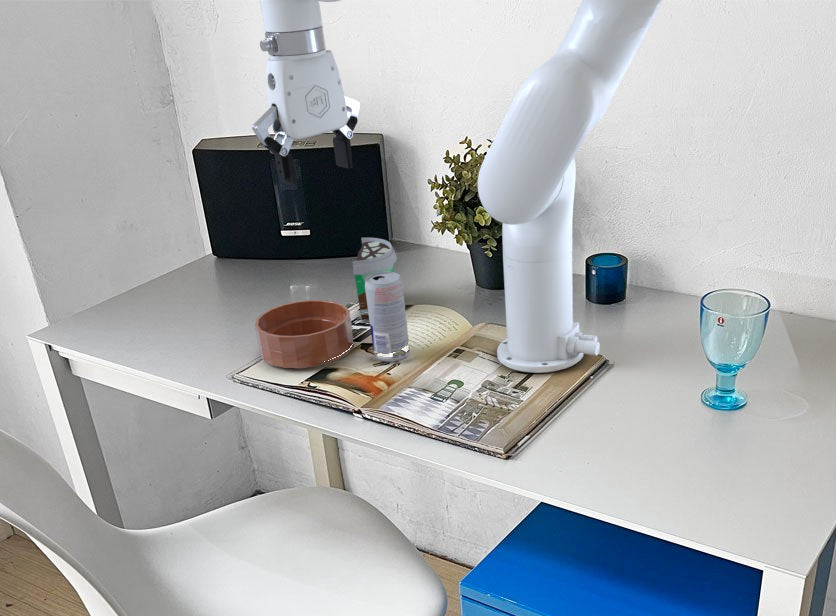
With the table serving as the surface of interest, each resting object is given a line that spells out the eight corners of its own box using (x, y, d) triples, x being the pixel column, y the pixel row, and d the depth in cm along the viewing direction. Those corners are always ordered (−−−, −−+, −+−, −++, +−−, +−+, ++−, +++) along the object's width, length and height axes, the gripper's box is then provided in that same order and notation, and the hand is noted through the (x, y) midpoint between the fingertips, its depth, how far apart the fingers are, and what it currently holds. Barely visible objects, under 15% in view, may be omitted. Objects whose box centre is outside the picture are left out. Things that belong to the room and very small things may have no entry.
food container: (398, 320, 157) (391, 260, 152) (360, 322, 157) (351, 262, 152) (405, 292, 167) (398, 234, 162) (369, 294, 168) (361, 236, 162)
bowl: (365, 333, 154) (361, 300, 151) (338, 373, 142) (332, 338, 139) (281, 332, 156) (275, 299, 153) (247, 370, 145) (240, 335, 142)
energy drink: (396, 344, 149) (387, 268, 143) (417, 354, 146) (409, 277, 139) (367, 355, 147) (356, 278, 140) (387, 366, 143) (378, 287, 137)
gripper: (256, 56, 123) (281, 194, 132) (365, 35, 133) (381, 164, 142) (225, 52, 128) (251, 185, 137) (332, 32, 137) (350, 158, 147)
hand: (317, 175), depth 139 cm, fingers open, 9 cm apart
